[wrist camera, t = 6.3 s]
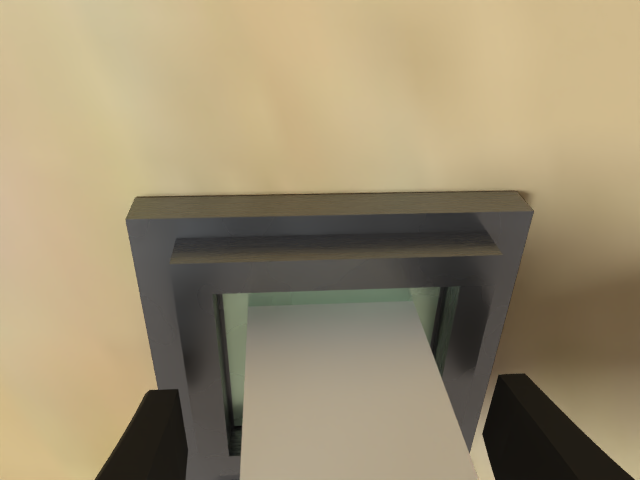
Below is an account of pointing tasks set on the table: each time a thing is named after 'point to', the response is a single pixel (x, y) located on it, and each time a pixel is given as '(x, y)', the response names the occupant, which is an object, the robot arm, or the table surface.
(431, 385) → the plug
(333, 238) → the panel
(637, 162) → the table surface
